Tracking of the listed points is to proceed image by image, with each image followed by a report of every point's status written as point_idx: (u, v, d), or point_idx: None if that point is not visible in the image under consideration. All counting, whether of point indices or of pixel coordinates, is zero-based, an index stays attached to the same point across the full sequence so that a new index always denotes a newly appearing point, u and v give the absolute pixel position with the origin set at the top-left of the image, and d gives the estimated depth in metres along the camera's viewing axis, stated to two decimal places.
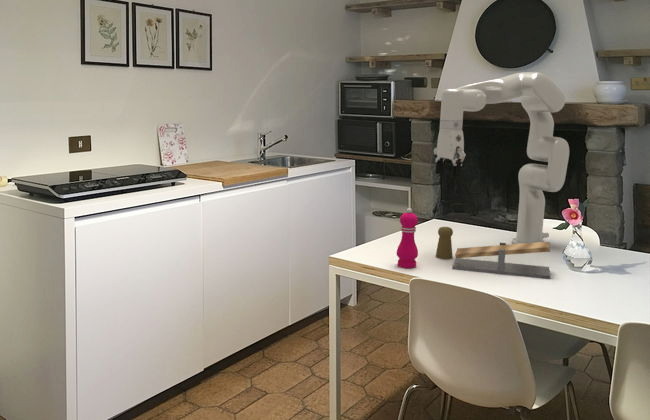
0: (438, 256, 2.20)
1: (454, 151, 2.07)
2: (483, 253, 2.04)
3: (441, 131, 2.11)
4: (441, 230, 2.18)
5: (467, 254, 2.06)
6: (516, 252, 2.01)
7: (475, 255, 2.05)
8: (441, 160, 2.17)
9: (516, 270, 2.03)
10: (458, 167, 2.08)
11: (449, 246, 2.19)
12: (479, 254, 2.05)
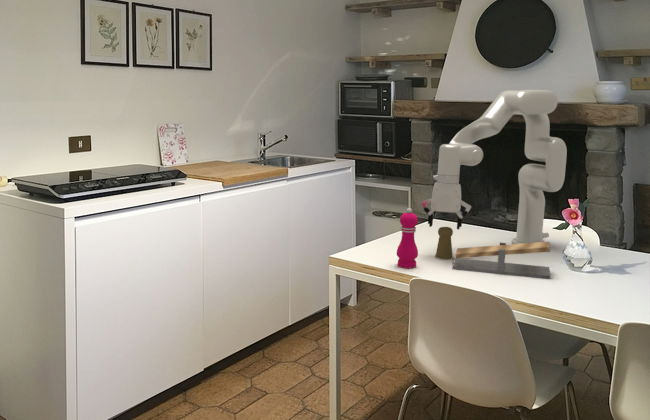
0: (438, 256, 2.20)
1: None
2: (483, 253, 2.04)
3: None
4: (441, 230, 2.18)
5: (467, 254, 2.06)
6: (516, 252, 2.01)
7: (475, 255, 2.05)
8: (459, 215, 2.17)
9: (516, 270, 2.03)
10: None
11: (449, 246, 2.19)
12: (479, 254, 2.05)
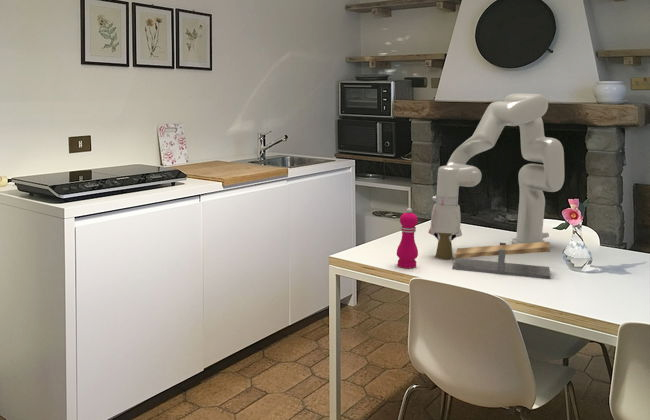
0: (438, 256, 2.20)
1: None
2: (483, 253, 2.04)
3: None
4: None
5: (467, 254, 2.06)
6: (516, 252, 2.01)
7: (475, 255, 2.05)
8: None
9: (516, 270, 2.03)
10: None
11: (449, 246, 2.19)
12: (479, 254, 2.05)
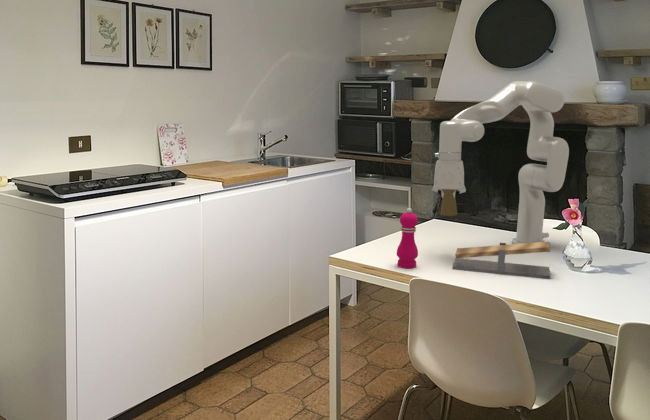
0: (443, 213, 2.17)
1: None
2: (483, 253, 2.04)
3: None
4: None
5: (467, 254, 2.06)
6: (516, 252, 2.01)
7: (475, 255, 2.05)
8: None
9: (516, 270, 2.03)
10: (442, 198, 2.19)
11: (453, 202, 2.16)
12: (479, 254, 2.05)
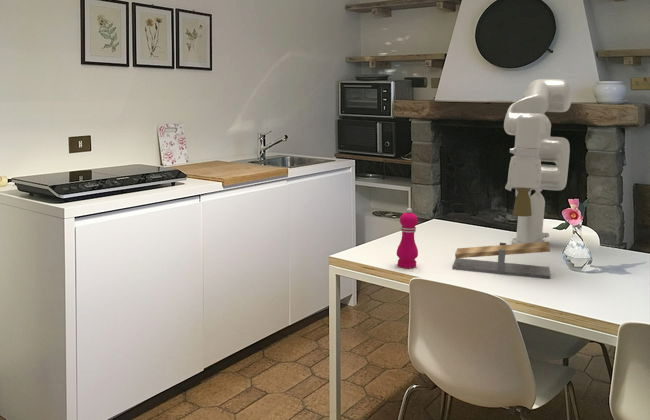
0: (516, 213, 2.02)
1: None
2: (483, 253, 2.04)
3: None
4: None
5: (467, 254, 2.06)
6: (516, 252, 2.01)
7: (475, 255, 2.05)
8: None
9: (516, 270, 2.03)
10: None
11: (528, 202, 2.01)
12: (479, 254, 2.05)
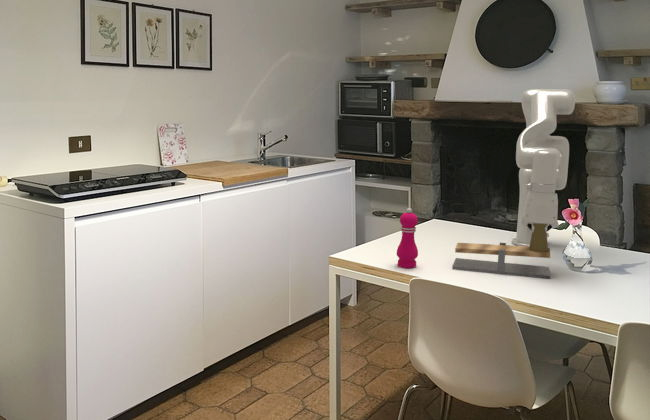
0: (533, 249, 2.01)
1: None
2: (483, 251, 2.04)
3: None
4: None
5: (467, 250, 2.06)
6: (516, 254, 2.01)
7: (475, 252, 2.05)
8: None
9: (516, 270, 2.03)
10: None
11: (545, 237, 2.00)
12: (479, 251, 2.05)
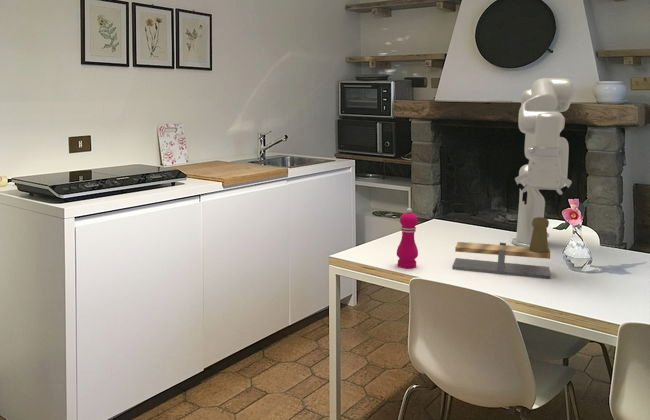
0: (533, 249, 2.01)
1: None
2: (483, 250, 2.04)
3: None
4: (536, 221, 1.99)
5: (467, 249, 2.06)
6: (516, 254, 2.01)
7: (475, 251, 2.05)
8: None
9: (516, 270, 2.03)
10: (522, 193, 2.01)
11: (545, 238, 2.00)
12: (479, 251, 2.05)
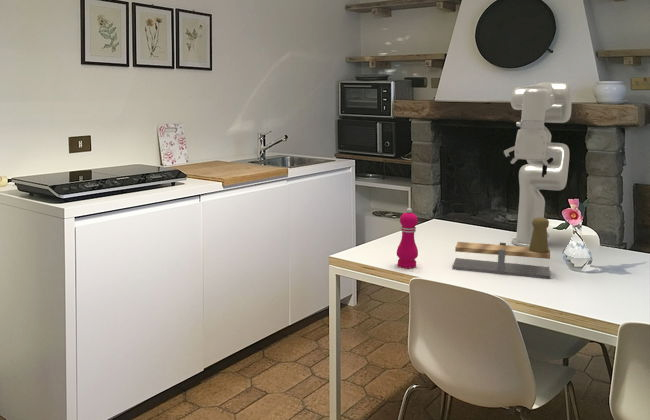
0: (533, 250, 2.01)
1: None
2: (483, 250, 2.04)
3: None
4: (536, 221, 1.99)
5: (467, 249, 2.06)
6: (516, 254, 2.01)
7: (475, 251, 2.05)
8: (544, 163, 2.10)
9: (516, 270, 2.03)
10: (511, 164, 2.14)
11: (545, 238, 2.00)
12: (479, 251, 2.05)
